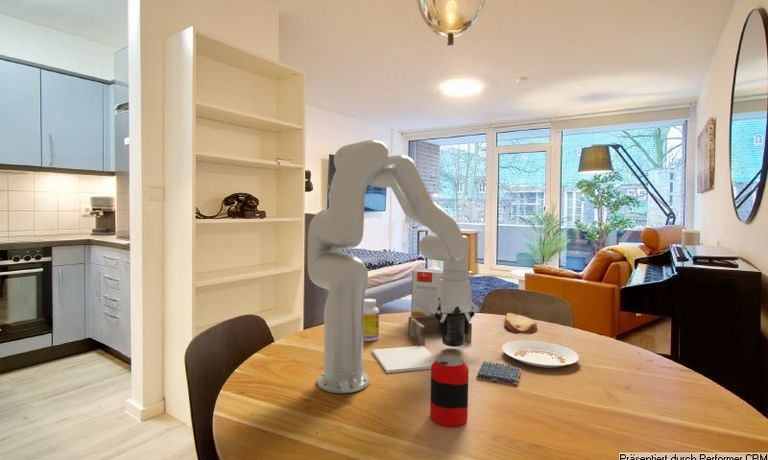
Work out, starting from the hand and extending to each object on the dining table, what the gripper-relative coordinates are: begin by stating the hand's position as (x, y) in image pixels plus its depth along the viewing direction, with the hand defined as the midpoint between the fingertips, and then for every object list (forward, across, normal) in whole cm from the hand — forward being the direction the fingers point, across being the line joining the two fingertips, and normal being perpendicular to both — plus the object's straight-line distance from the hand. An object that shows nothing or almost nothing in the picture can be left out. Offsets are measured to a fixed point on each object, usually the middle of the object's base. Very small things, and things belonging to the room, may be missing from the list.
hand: (453, 333), depth 124 cm
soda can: (+6, +18, +37) cm, 42 cm away
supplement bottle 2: (+3, 0, 0) cm, 3 cm away
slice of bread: (+5, -35, -19) cm, 41 cm away
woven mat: (+6, -4, +20) cm, 21 cm away
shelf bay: (+5, -1, -11) cm, 12 cm away
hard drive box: (+5, -6, -30) cm, 31 cm away
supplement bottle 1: (+6, +22, -17) cm, 28 cm away
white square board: (+6, +16, +4) cm, 18 cm away
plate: (+5, -22, +12) cm, 25 cm away
